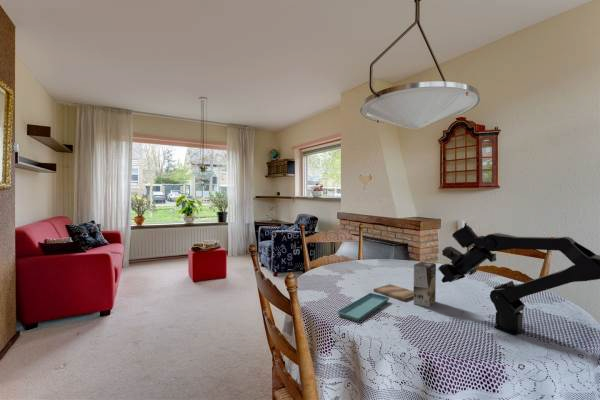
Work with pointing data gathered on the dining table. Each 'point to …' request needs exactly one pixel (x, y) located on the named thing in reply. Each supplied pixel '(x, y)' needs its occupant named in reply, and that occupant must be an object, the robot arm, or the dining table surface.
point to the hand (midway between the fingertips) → (442, 281)
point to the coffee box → (424, 283)
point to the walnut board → (395, 292)
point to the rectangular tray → (363, 306)
